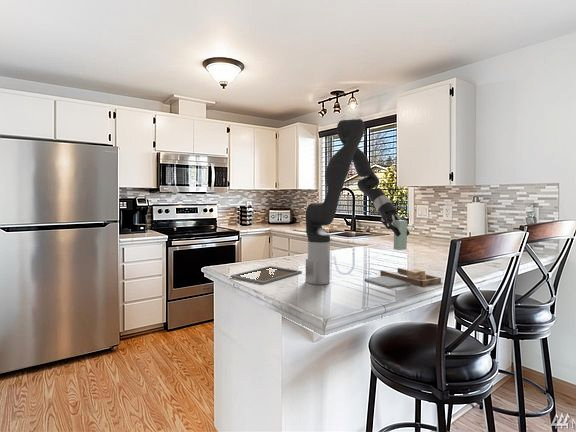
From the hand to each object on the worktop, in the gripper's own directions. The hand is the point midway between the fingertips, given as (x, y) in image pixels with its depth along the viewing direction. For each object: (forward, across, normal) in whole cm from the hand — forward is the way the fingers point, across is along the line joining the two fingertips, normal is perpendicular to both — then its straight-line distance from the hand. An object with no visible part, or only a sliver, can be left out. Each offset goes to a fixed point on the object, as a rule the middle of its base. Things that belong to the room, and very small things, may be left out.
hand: (403, 234), depth 158 cm
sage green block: (+3, 0, +6) cm, 7 cm away
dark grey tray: (-8, -51, +37) cm, 63 cm away
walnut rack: (+16, 0, +11) cm, 19 cm away
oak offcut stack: (+19, 0, +8) cm, 21 cm away
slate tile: (+16, -14, +10) cm, 24 cm away
